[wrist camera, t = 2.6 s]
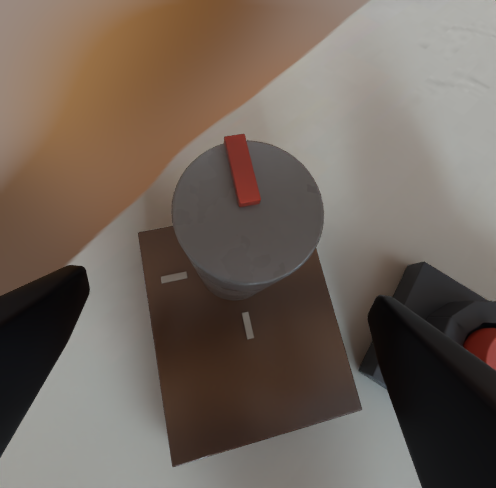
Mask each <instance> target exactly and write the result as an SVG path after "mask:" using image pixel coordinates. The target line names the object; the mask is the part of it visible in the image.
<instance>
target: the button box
mask: <svg viewBox="0 0 496 488" xmlns="http://www.w3.org/2000/svg"><path fill="white" fill-rule="evenodd" d="M393 298H395V299H396V300H398V301H399V302H400V303H402V304H403V305H405V306H406V307H407V308H409V309H410V310H412V311H413V312H414V313H416V314H417V315H419V316H420V317H421V318H423V319H424V320H426V321H427V322H428V323H430V324H431V325H433V326H434V327H436V328H437V329H438V330H440V331H441V332H443V333H444V334H445V335H447V336H448V337H450V338H451V339H452V340H454V341H455V342H457V343H458V344H459V345H461V346H462V347H463V344H464V342H465V341H466V339H467V338H468V336H469V335H470V334H472V333H473V332H475V331H476V330H479V329H482V328H496V302H495V301H488V300H486V299H484V298H483V297H481V296H480V295H478V294H476V293H475V292H473V291H471V290H470V289H468V288H467V287H465V286H463V285H462V284H460V283H458V282H457V281H455V280H453V279H452V278H450V277H449V276H447V275H445V274H444V273H442V272H440V271H439V270H437V269H436V268H434V267H432V266H431V265H429V264H427V263H426V262H420V263H416V264H412V265H408V266H407V268H406V270H405V272H404V274H403V276H402V279H401V281H400V283H399V285H398V287H397V289H396V291H395V294H394V296H393ZM359 372H361V373H362V374H364V375H365V376H367V377H369V378H370V379H372V380H373V381H375V382H376V383H378V384H379V385H381V386H382V387H384V388H386V385H385V382H384V379H383V376H382V374H381V371H380V367H379V364H378V361H377V357H376V353H375V349H374V344H373V341H372V343H371V345H370V347H369V349H368V351H367V353H366V356H365V358H364V360H363V362H362V364H361V366H360V368H359ZM386 389H387V388H386Z"/></svg>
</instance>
